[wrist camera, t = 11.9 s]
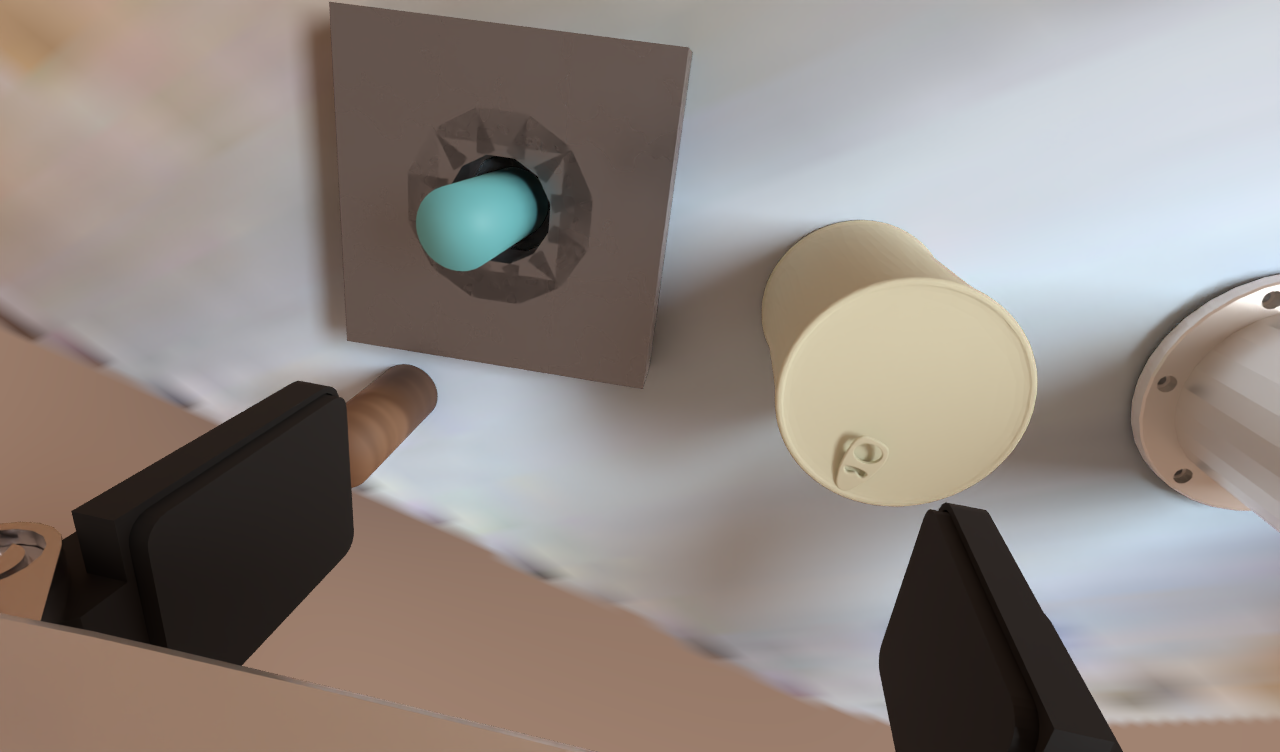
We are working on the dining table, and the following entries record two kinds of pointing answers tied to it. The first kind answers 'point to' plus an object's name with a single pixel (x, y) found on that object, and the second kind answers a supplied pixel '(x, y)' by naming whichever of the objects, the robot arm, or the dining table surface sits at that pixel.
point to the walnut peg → (386, 417)
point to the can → (892, 367)
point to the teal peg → (480, 217)
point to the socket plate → (541, 141)
